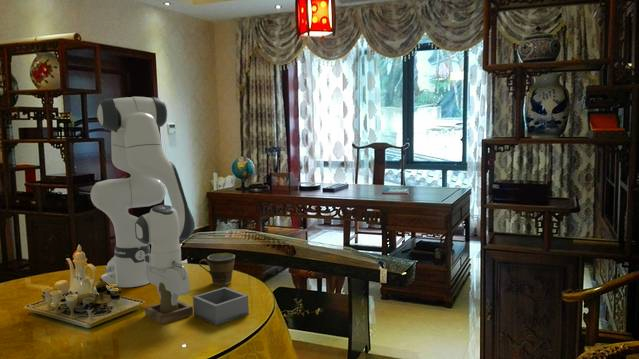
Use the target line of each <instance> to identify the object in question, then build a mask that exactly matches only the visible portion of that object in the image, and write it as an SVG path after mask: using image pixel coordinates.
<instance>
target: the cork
mask: <svg viewBox="0 0 639 359" xmlns="http://www.w3.org/2000/svg"><path fill="white" fill-rule="evenodd" d="M159 290H160V291H161V300H160V313H162V314H166V313H169V312H172V311H175V310H178V304H177V305H174V306H173V305H171V304H170V299H171V297H172V295H171V292H170V291H167V290H166V289H165V285H164V284H163V283H160V284H159Z"/></svg>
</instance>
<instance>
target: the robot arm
mask: <svg viewBox="0 0 639 359" xmlns="http://www.w3.org/2000/svg"><path fill="white" fill-rule="evenodd" d="M96 115H97V120H98V121H99V124H100V126H101V127H102V128H103V129H104V130H107V131H109V132H110V133H111V134H110V140H111V141H110V143H111V147H110V148H111V149H110V150H111V161H112V164H113V166H114V167H115V168H117V169H118V170H120V171H123V172H125V173H128V174H129V175H130V177H127V178H126V177H125V178H111V179H105V180H102V181H97V182H95V184H94V185H93V186H92V188H91V190H90V199H91V202H92V205H93V206H94V207H96V209H99V210H100V211H102V212H103V213H104V214H105V215H106V216H107V217H108V218H109V219H110V221H111V223H112V225H113V230H114V235H115V245H113V247H114V250H113V252H114V255H113V257H111V259H110V260H109V261H108V262H107V265H106V266H105V268H104V269H105V273H104V274H102V275H101V276H100V278H101V280H102V281H103V282H104V281H105V282H107V283H109V284H117V286H118V287H117V288H134V287H136V288H137V287H141V286H145V285H148V284H152V285H154V286H156V289H157V292H158V294H159V300H160V301H161V291H160V290H159V284H160V283H163V284H164V285H165V289H166V290H167V291H170V292H171V295H172V297H171V299H170V304H171V305H173V306H174V305H177V300H178V298H179V296H180V297H181V296H184V295H188V294H189V293H190V290H191V289H190V288H191V287H190V279H189V273H188V270H187V269H186V268H185V267H184V265H183V264H182V248H181V244H180V241H185V240H188V239H189V238H190V237H191V235H192V234H193V233H194V231H195V230H196V229H195V228H196V227H195V226H196V224H195V220H194V216H193V215H192V212H191V209H190V208H189V204H188V202H187V198H186V196H185V191H184V188H183V184H182V182H181V178H180V175H179V173H178V170H177V168H176V165H175V164H174V162H172V161H169V159H168V158H167V157H166V155H165V152H164V150H163V144H162V139H161V134H160V133H161V132H160V131H159V128H161V127H163V126H164V125H165V124H166V123H167V119H168V108H167V105H166V102H165V101H164V100H163V99H162V98H160V97H155V96H151V97H146V96H131V97H128V96H126V97H117V98H112V97H110V98H109V97H108V98H105V99H102V100H101V101H100V102H99V103H98V107H97V113H96ZM166 189H167V194H168V197H169V200H170V203H171V205H167V204H161V203H162V202H163V200H164V199H165V197H166ZM157 204H158V205H157ZM151 206H153V207H152V208H150V210H149V212H148V213H145V214H142V215H140V216H139V217H137V216H135V215H133V214H130V213H129V209H133V208H144V207H151ZM150 245H151V246H150ZM150 247H151V248H150ZM105 282H104V283H105Z"/></svg>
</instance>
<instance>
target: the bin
mask: <svg viewBox="0 0 639 359" xmlns="http://www.w3.org/2000/svg"><path fill="white" fill-rule="evenodd" d="M192 303H193V306H192V307H193V316H195V317H197V318H199V319H201V320H203V321H205V322H208V323H209V322H210V323H209V324H212V325H213V324H214V326H215V327H217V326H220V325H223V324H226V323H229V322H231V321H234V320H237V319H240V318H242V317H245V316H248V315H250V314H249V311H250V310H249V308H250V307H249V295H248V294H245V293H242V292H240V291H237V290H234V289H232V288H230V287H226V286H223V287H221V288H218V289H214V290H211V291H208V292H203V293H201V294H197V295H193V297H192ZM228 321H229V322H228ZM225 322H226V323H225Z"/></svg>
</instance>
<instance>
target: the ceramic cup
mask: <svg viewBox="0 0 639 359" xmlns="http://www.w3.org/2000/svg"><path fill="white" fill-rule="evenodd" d="M235 258H236V255H235V254H233V253H228V252H221V253H213V254H210V255H208V256H207V259H206V258H205V259H204V258H203V259H201V260H199V262H198V264H199V267H201V268H202V269H203V270H205V271H206V272H207V273H208V274H209V275H210V277H211V280H212V285H214V286H217V287H221V286H223V287H225V286H228V285H230V284H232V279H233V278H232V277H233V270H234V265H235V260H236V259H235ZM202 262H204V263H205V262H206V264H207V265H208V267H209V270H208V268H206V267H204V266H202V265H201V263H202Z"/></svg>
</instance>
